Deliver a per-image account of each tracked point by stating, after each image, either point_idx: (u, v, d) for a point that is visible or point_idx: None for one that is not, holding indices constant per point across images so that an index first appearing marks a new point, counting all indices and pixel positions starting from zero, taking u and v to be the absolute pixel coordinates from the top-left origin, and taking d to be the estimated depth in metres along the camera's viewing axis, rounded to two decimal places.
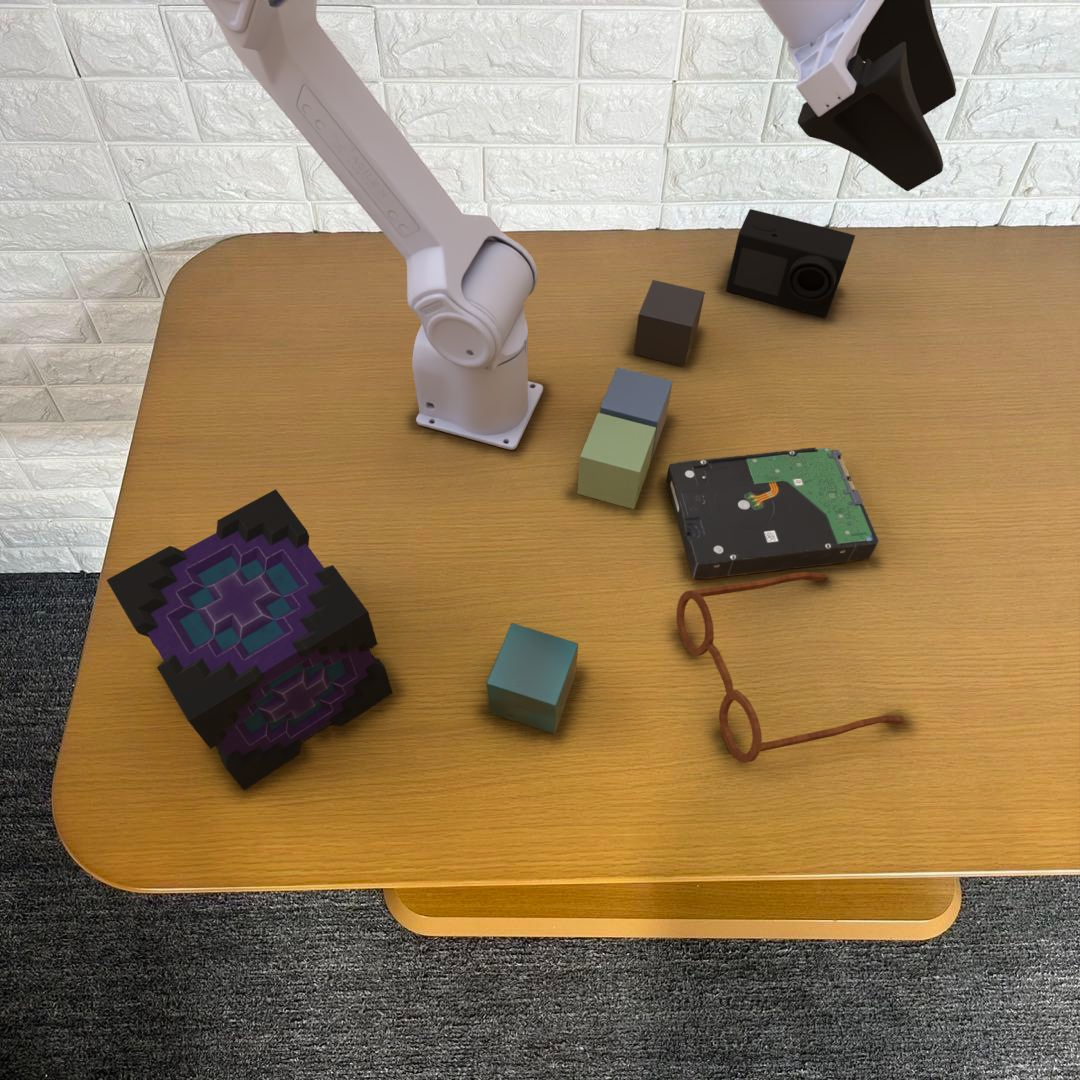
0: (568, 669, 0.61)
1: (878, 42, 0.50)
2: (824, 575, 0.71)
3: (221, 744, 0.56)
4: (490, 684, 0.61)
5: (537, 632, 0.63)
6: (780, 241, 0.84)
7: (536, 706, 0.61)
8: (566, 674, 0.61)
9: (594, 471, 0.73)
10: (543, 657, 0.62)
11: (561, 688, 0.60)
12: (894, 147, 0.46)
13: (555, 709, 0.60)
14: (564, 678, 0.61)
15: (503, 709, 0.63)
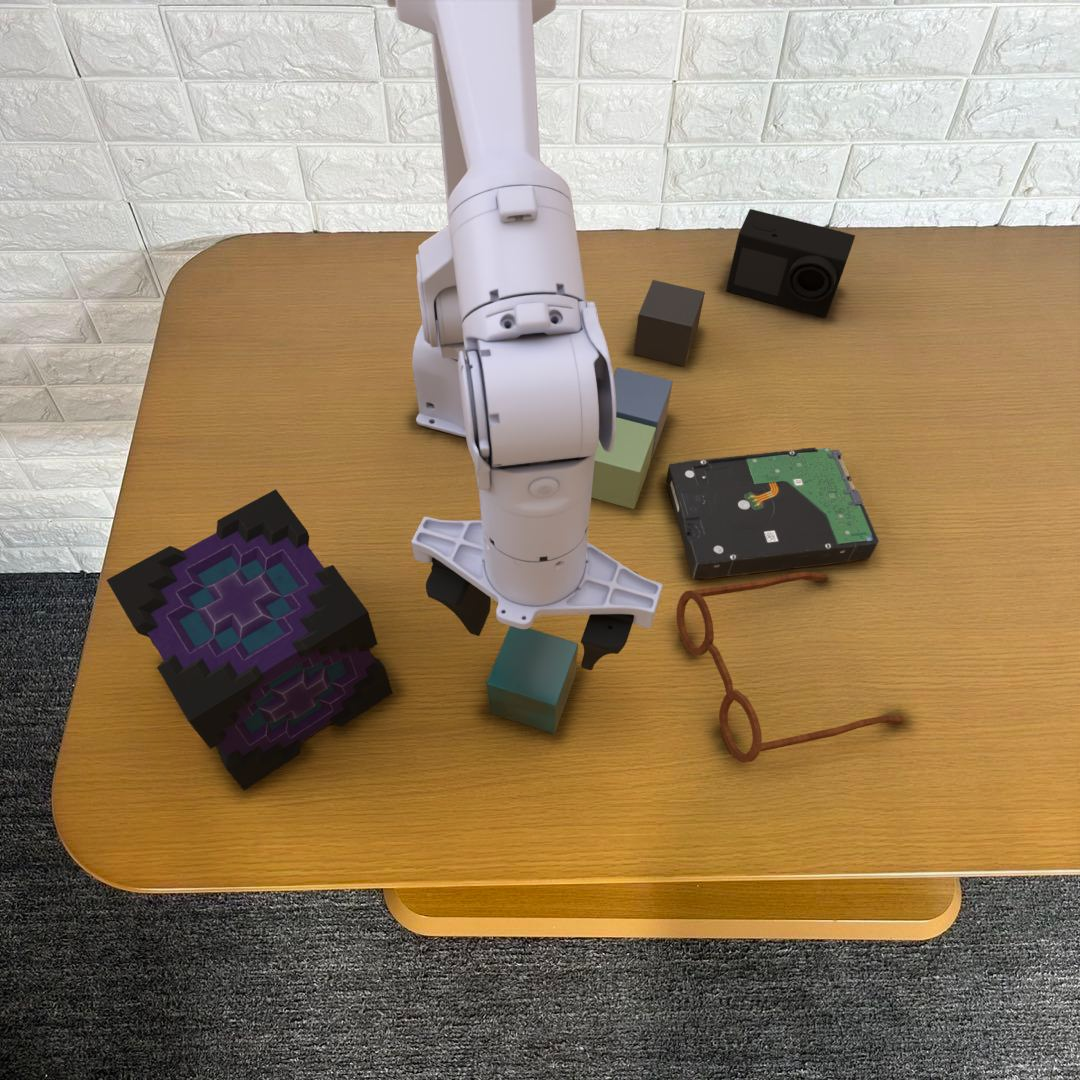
0: (568, 669, 0.61)
1: None
2: (824, 575, 0.71)
3: (221, 744, 0.56)
4: (490, 684, 0.61)
5: (537, 632, 0.63)
6: (780, 241, 0.84)
7: (536, 706, 0.61)
8: (566, 674, 0.61)
9: (594, 471, 0.73)
10: (543, 657, 0.62)
11: (561, 688, 0.60)
12: None
13: (555, 709, 0.60)
14: (564, 678, 0.61)
15: (503, 709, 0.63)
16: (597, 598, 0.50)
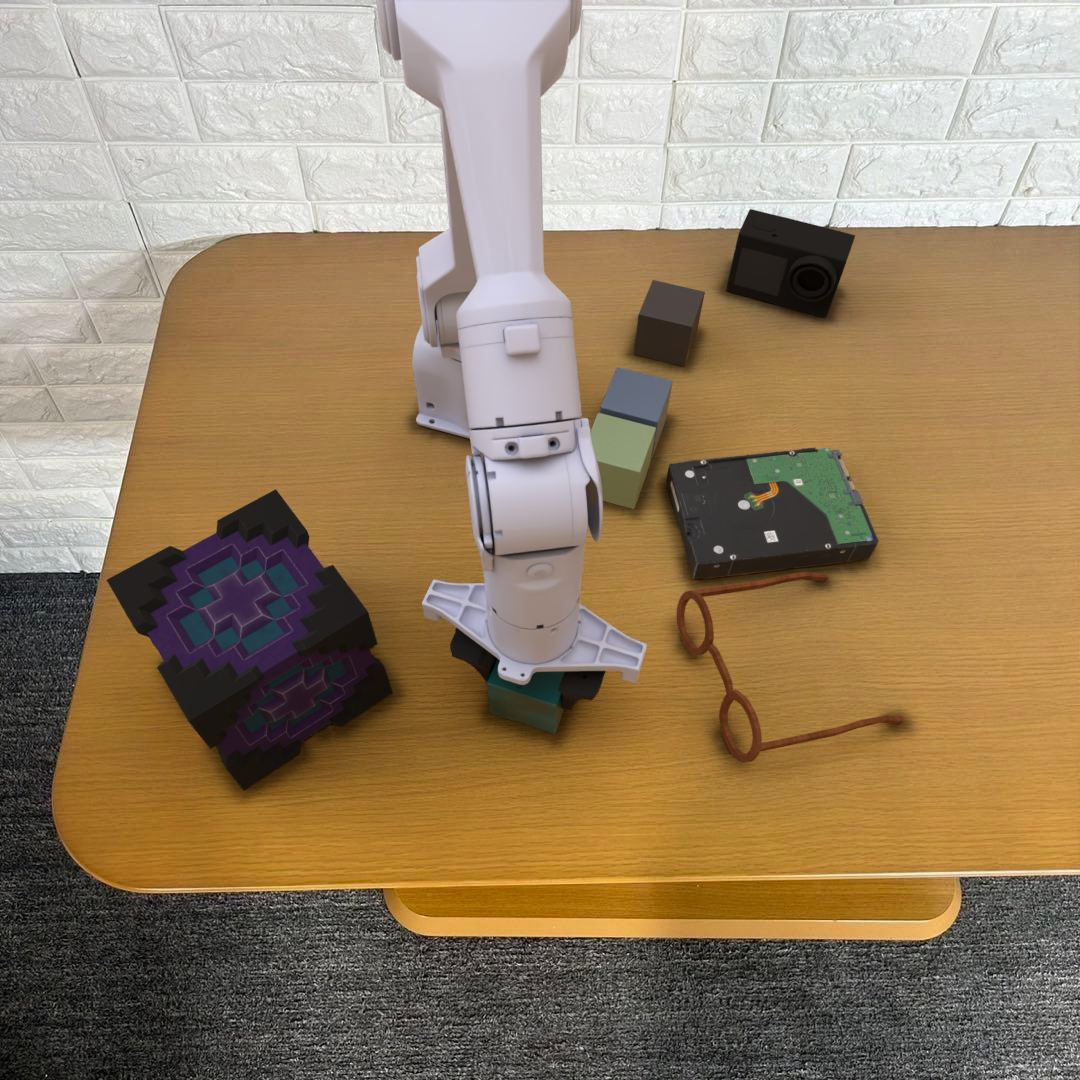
0: None
1: None
2: (824, 575, 0.71)
3: (221, 744, 0.56)
4: (491, 684, 0.61)
5: None
6: (780, 241, 0.84)
7: (537, 706, 0.61)
8: None
9: None
10: None
11: None
12: None
13: (556, 709, 0.60)
14: None
15: (503, 709, 0.63)
16: (588, 656, 0.56)
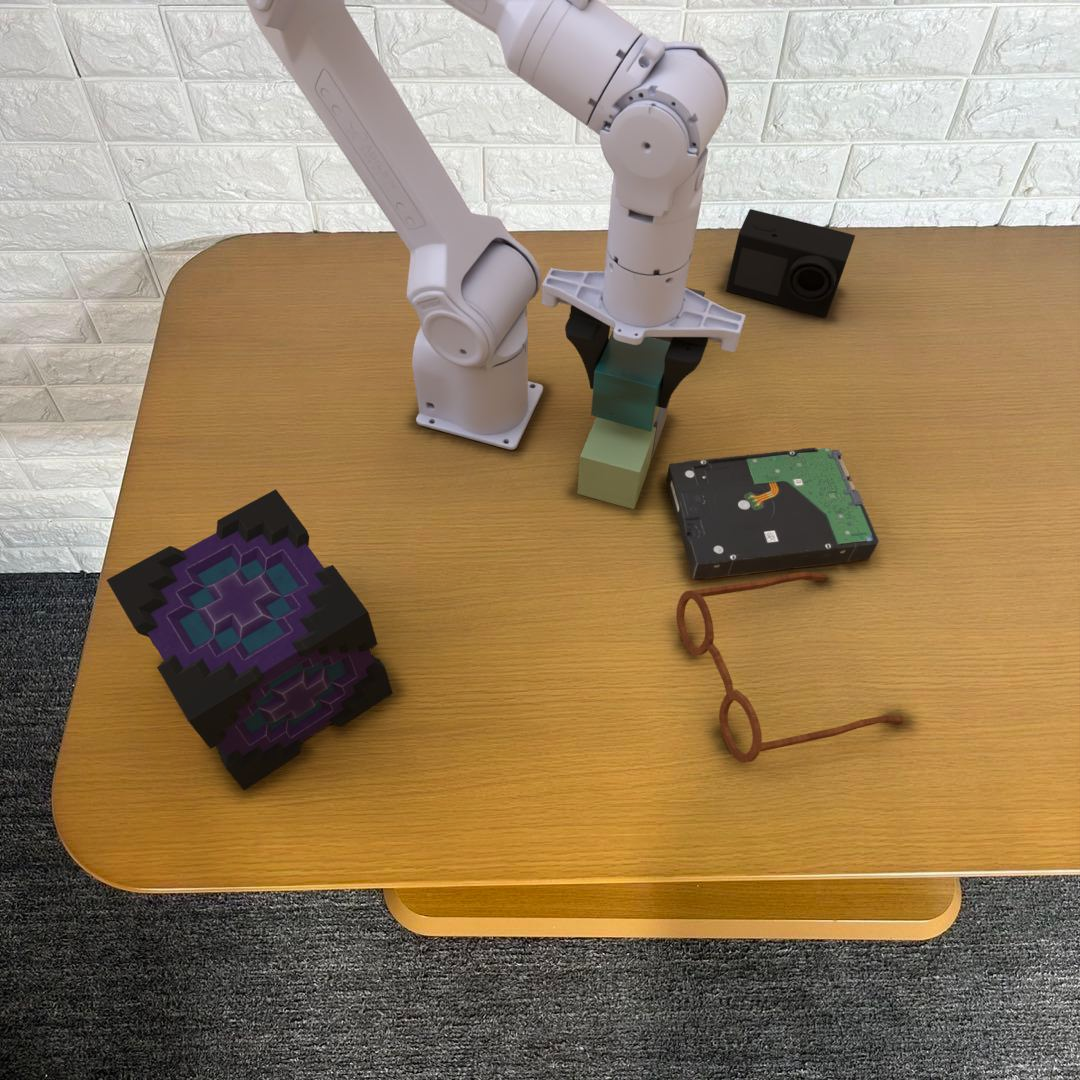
0: None
1: None
2: (824, 575, 0.71)
3: (221, 744, 0.56)
4: (598, 371, 0.67)
5: None
6: (780, 241, 0.84)
7: (639, 392, 0.68)
8: None
9: (594, 471, 0.73)
10: (644, 353, 0.69)
11: (662, 375, 0.67)
12: None
13: (657, 393, 0.67)
14: None
15: (605, 405, 0.70)
16: (693, 325, 0.63)
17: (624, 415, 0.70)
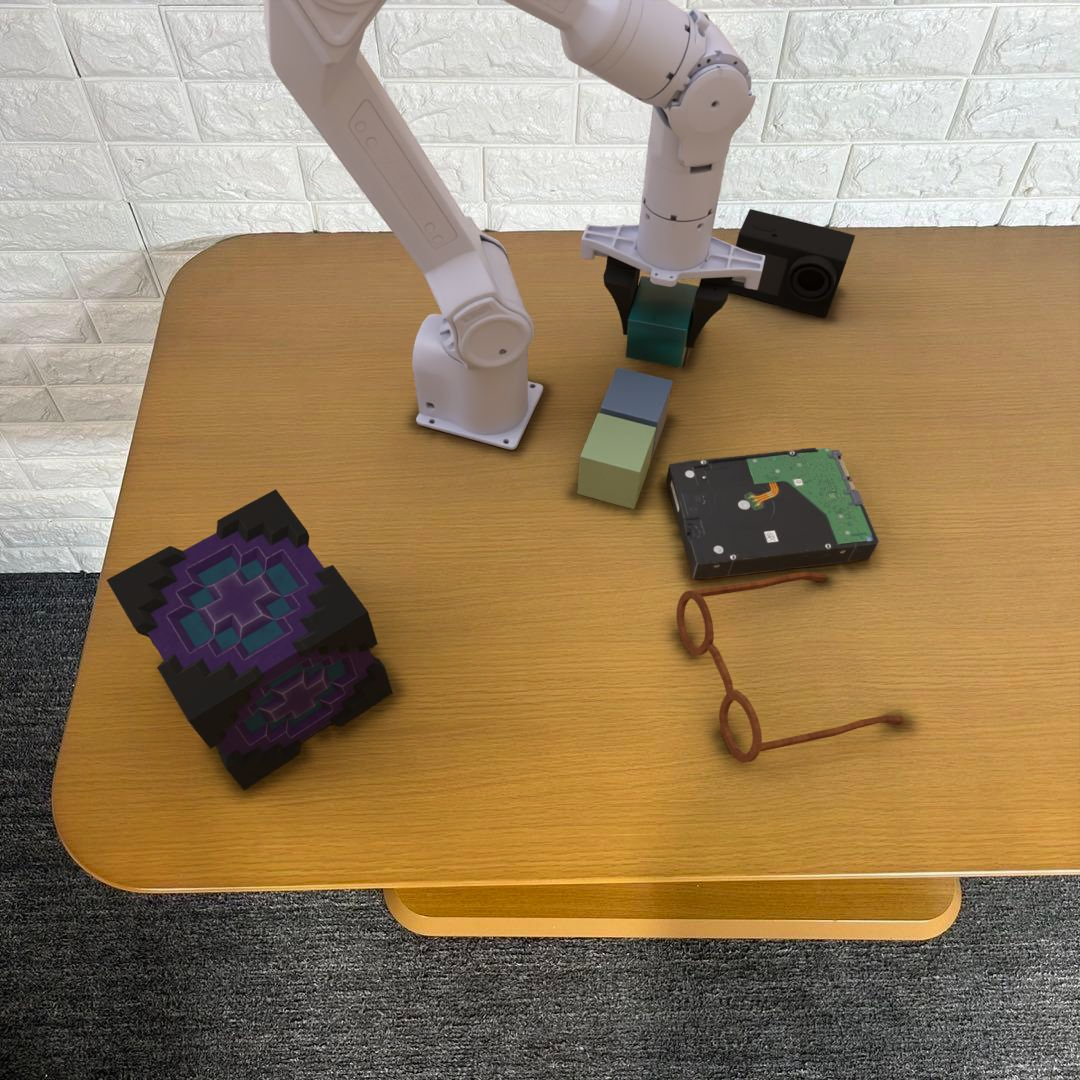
0: (693, 304, 0.75)
1: None
2: (824, 575, 0.71)
3: (221, 744, 0.56)
4: (631, 319, 0.75)
5: None
6: (780, 241, 0.84)
7: (670, 335, 0.75)
8: (692, 308, 0.75)
9: (594, 471, 0.73)
10: (671, 298, 0.76)
11: (689, 318, 0.75)
12: None
13: (686, 335, 0.75)
14: (691, 311, 0.75)
15: (639, 348, 0.78)
16: (719, 267, 0.71)
17: (656, 355, 0.78)
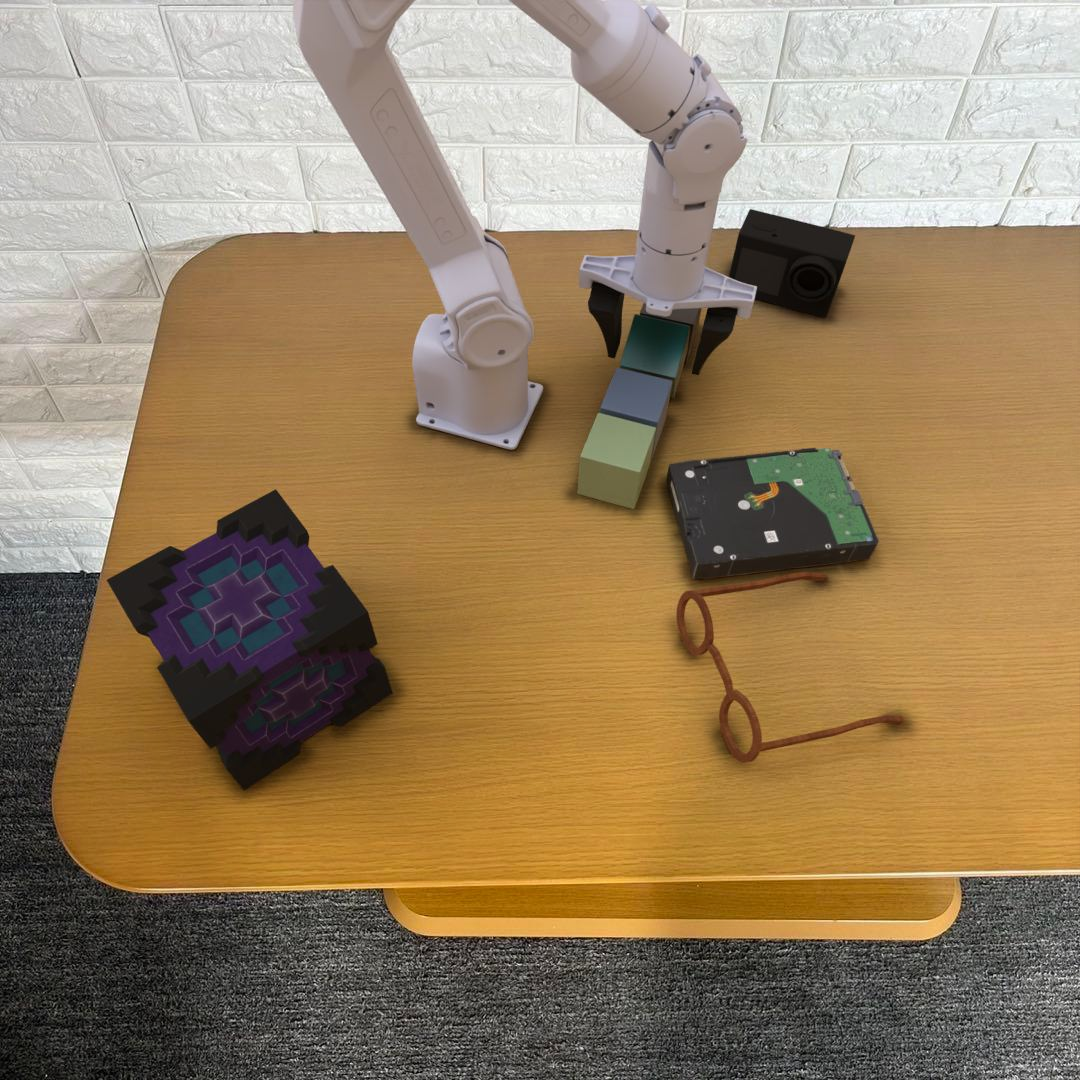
0: (683, 348, 0.78)
1: None
2: (824, 575, 0.71)
3: (221, 744, 0.56)
4: (623, 365, 0.78)
5: (656, 320, 0.79)
6: (780, 241, 0.84)
7: None
8: (682, 352, 0.78)
9: (594, 471, 0.73)
10: (662, 340, 0.78)
11: (678, 364, 0.78)
12: None
13: (674, 380, 0.78)
14: (680, 356, 0.78)
15: None
16: (713, 297, 0.73)
17: None
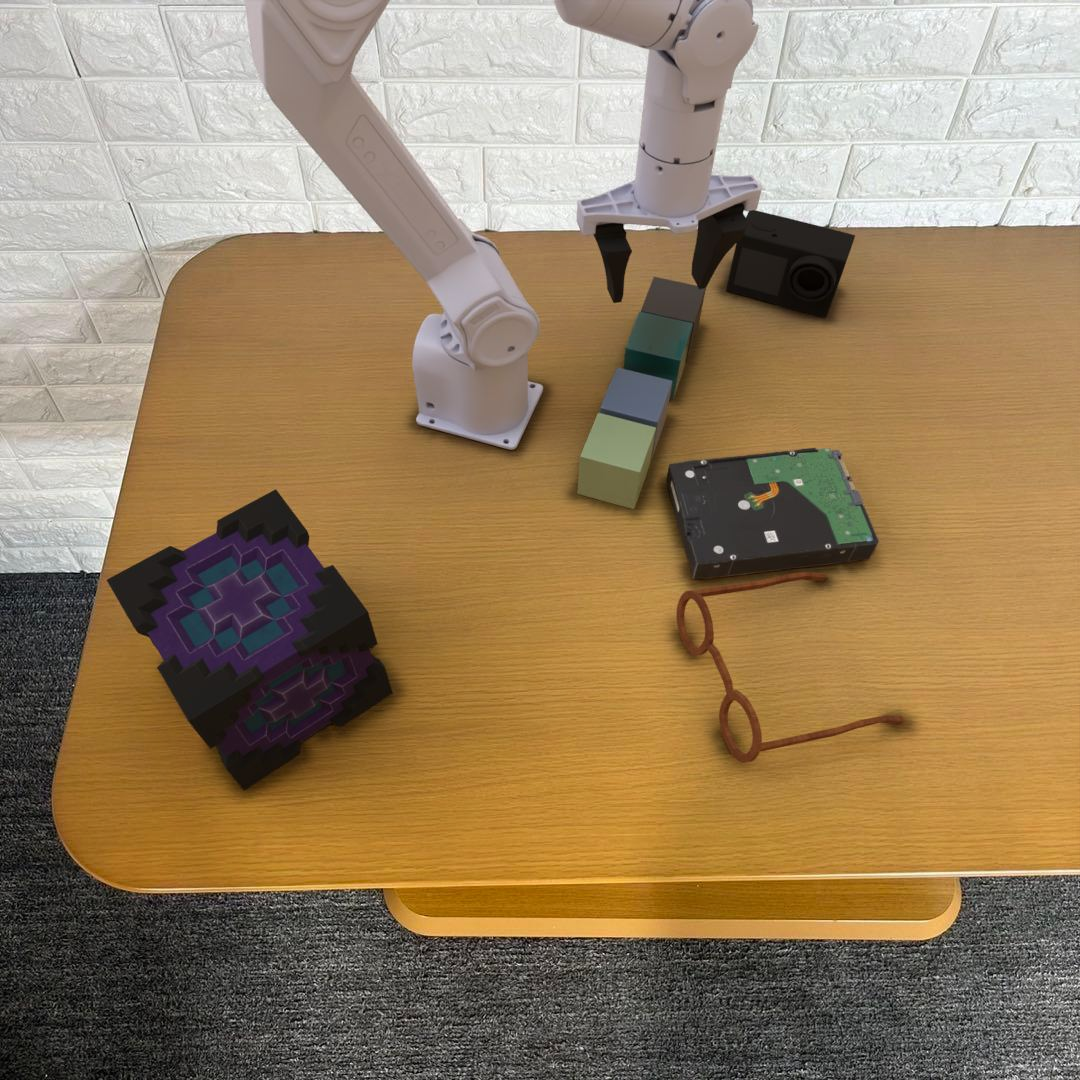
0: (687, 338, 0.80)
1: (703, 226, 0.74)
2: (824, 575, 0.71)
3: (221, 744, 0.56)
4: (628, 348, 0.79)
5: (660, 316, 0.81)
6: (780, 241, 0.84)
7: (664, 365, 0.79)
8: (686, 341, 0.79)
9: (594, 471, 0.73)
10: (667, 332, 0.80)
11: (683, 350, 0.79)
12: None
13: (679, 365, 0.79)
14: (685, 344, 0.79)
15: None
16: (721, 199, 0.70)
17: None
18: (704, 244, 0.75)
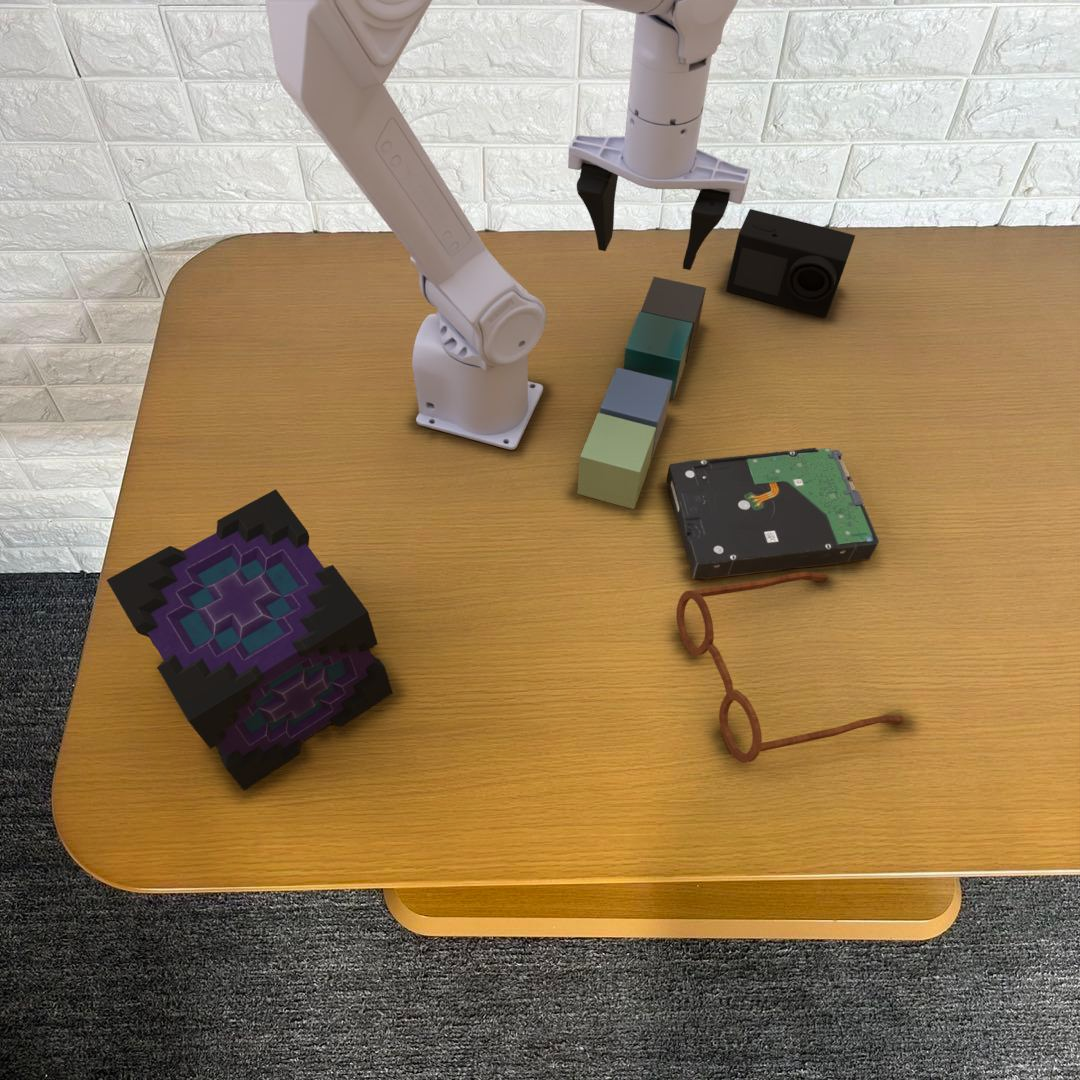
0: (687, 338, 0.80)
1: (607, 199, 0.75)
2: (824, 575, 0.71)
3: (221, 744, 0.56)
4: (628, 348, 0.79)
5: (660, 316, 0.81)
6: (780, 241, 0.84)
7: (664, 365, 0.79)
8: (686, 341, 0.79)
9: (594, 471, 0.73)
10: (667, 332, 0.80)
11: (683, 350, 0.79)
12: None
13: (679, 365, 0.79)
14: (685, 344, 0.79)
15: None
16: (613, 147, 0.73)
17: None
18: (609, 206, 0.77)
